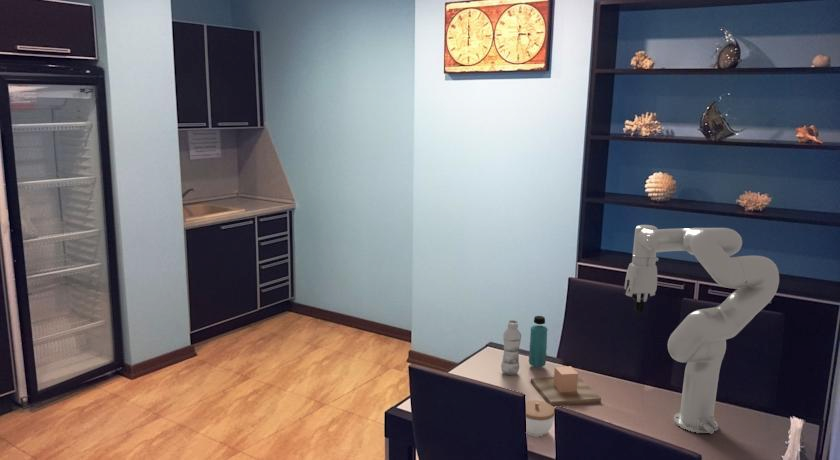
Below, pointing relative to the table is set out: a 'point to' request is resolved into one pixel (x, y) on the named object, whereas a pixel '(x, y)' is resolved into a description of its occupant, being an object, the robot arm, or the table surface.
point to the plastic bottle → (511, 349)
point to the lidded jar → (538, 417)
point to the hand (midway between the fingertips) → (638, 311)
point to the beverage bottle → (538, 343)
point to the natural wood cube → (565, 379)
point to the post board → (564, 398)
